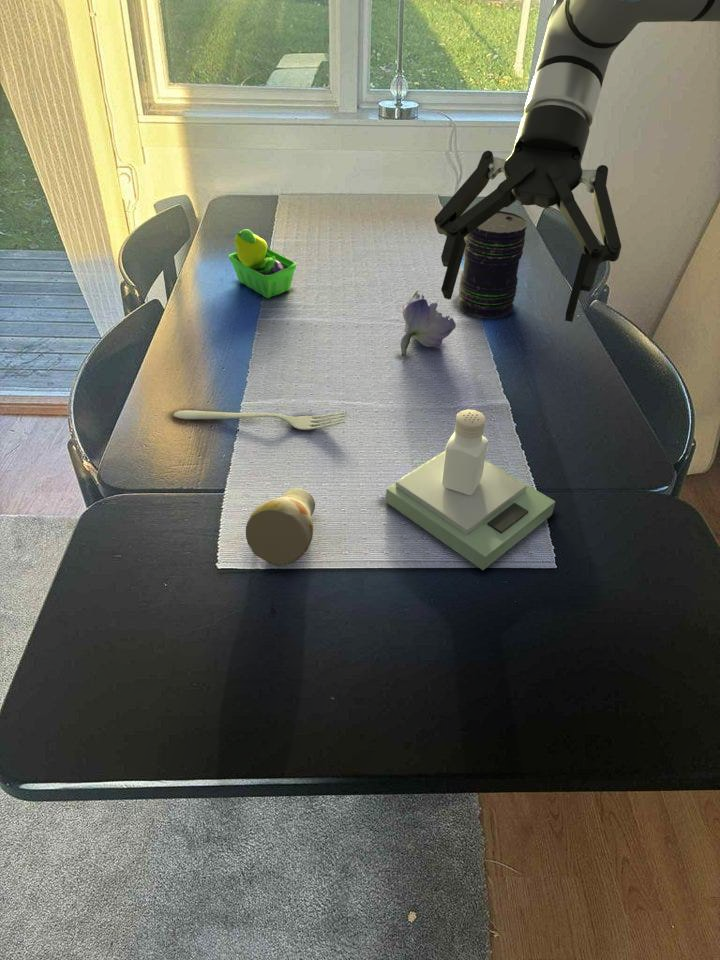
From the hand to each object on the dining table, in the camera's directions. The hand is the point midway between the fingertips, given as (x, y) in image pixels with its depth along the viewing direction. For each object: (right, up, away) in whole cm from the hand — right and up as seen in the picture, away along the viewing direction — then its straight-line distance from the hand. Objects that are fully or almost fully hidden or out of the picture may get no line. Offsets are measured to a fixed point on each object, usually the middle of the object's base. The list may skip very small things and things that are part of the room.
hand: (506, 306), depth 76 cm
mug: (-24, -26, +4) cm, 36 cm away
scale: (-3, -22, +8) cm, 24 cm away
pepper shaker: (-4, -20, +7) cm, 21 cm away
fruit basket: (-34, +16, +52) cm, 64 cm away
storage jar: (+6, +12, +48) cm, 50 cm away
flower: (-6, +2, +37) cm, 37 cm away
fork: (-30, -11, +21) cm, 38 cm away
